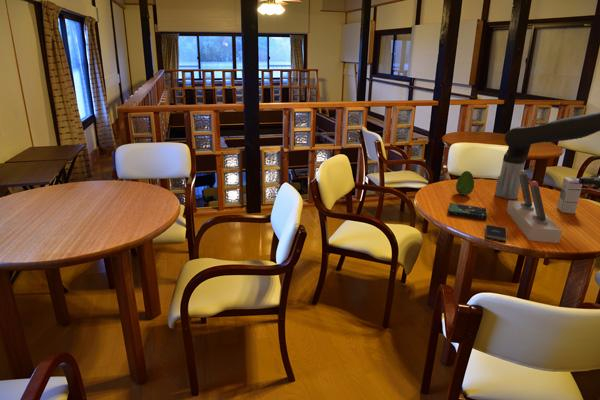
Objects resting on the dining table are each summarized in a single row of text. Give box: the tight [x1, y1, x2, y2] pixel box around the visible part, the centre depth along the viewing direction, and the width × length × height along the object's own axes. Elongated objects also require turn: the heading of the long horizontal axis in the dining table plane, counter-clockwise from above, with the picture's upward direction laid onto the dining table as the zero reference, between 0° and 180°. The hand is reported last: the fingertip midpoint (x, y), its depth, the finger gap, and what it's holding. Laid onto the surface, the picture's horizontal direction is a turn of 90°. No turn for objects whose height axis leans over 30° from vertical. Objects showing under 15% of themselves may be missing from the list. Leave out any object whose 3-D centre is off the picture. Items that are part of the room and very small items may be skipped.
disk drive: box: [447, 202, 488, 222], centre depth 173 cm, size 10×3×15 cm
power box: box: [506, 200, 563, 244], centre depth 162 cm, size 10×30×6 cm, turn 169°
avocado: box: [455, 170, 475, 196], centre depth 195 cm, size 8×8×12 cm
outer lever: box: [528, 180, 546, 221], centre depth 152 cm, size 3×5×15 cm, turn 168°
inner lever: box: [519, 169, 533, 207], centre depth 165 cm, size 3×5×15 cm, turn 168°
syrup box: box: [556, 176, 583, 214], centre depth 178 cm, size 6×6×14 cm
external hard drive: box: [484, 224, 508, 243], centre depth 153 cm, size 7×11×2 cm, turn 156°
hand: (579, 180), depth 147 cm, fingers closed
